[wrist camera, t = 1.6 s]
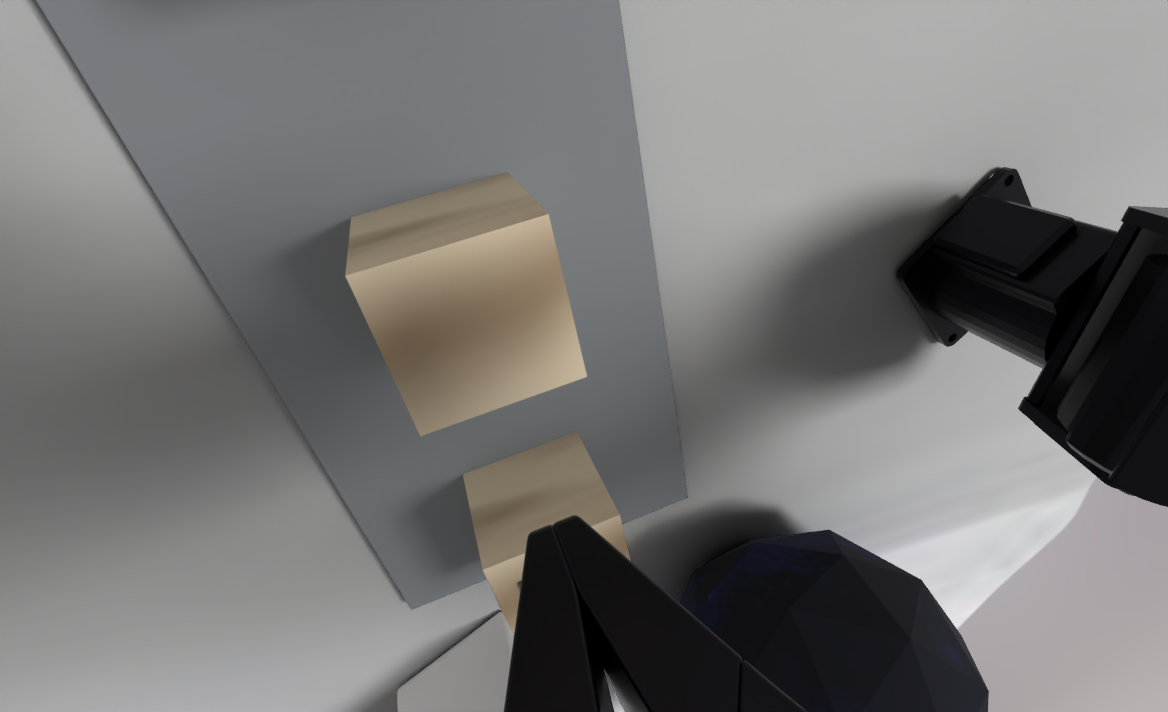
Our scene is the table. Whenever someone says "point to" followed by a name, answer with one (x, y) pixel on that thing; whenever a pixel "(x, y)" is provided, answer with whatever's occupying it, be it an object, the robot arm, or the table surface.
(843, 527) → the table surface
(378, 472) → the mat
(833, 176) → the table surface
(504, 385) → the plain block
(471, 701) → the medicine bottle
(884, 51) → the table surface
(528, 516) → the marked block
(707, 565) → the decorative orb
